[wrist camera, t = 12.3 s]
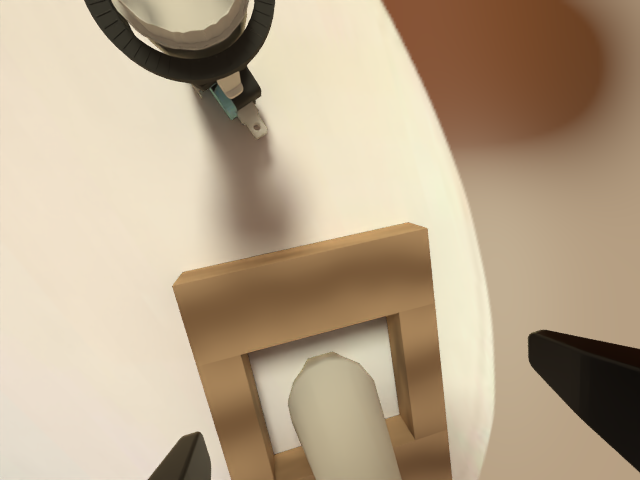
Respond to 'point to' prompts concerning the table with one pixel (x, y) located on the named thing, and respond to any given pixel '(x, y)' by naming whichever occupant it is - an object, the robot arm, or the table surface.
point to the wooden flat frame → (311, 319)
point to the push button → (194, 45)
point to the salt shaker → (341, 421)
